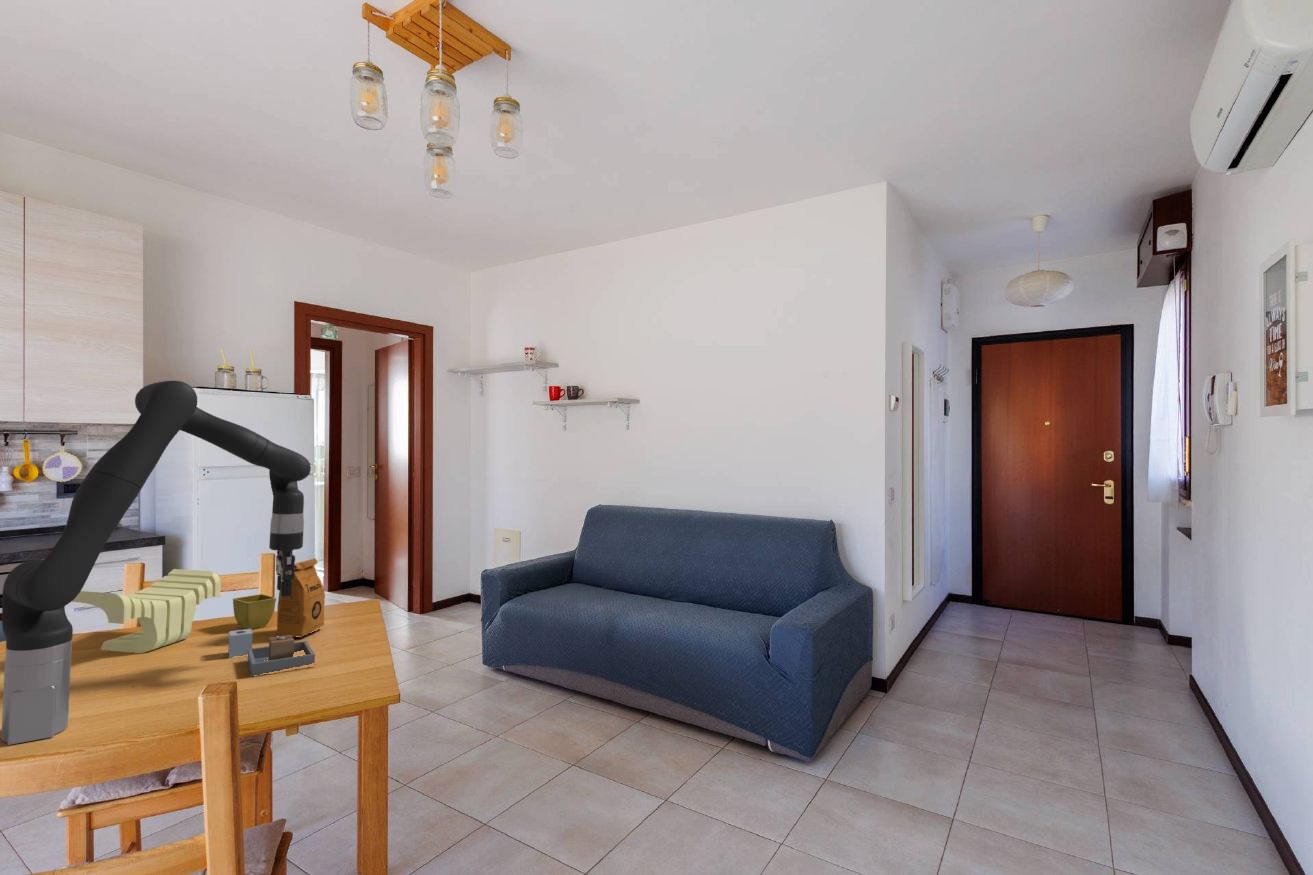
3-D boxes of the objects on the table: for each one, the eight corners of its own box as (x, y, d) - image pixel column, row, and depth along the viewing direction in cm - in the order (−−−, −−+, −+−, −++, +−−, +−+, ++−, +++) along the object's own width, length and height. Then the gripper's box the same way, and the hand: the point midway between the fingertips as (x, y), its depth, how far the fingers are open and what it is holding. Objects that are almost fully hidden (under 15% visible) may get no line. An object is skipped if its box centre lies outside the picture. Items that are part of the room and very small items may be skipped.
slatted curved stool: (121, 664, 158) (125, 594, 159) (66, 659, 160) (70, 590, 161) (218, 631, 188) (221, 571, 188) (171, 627, 190) (173, 568, 190)
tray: (314, 667, 161) (314, 654, 161) (251, 677, 153) (252, 664, 153) (306, 652, 172) (306, 640, 172) (247, 661, 163) (247, 648, 164)
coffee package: (329, 629, 193) (332, 558, 194) (301, 641, 181) (304, 565, 181) (300, 627, 195) (303, 556, 195) (270, 638, 182) (274, 563, 183)
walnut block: (293, 663, 162) (294, 638, 162) (270, 666, 158) (271, 641, 159) (290, 657, 166) (291, 633, 166) (268, 660, 162) (269, 636, 163)
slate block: (251, 655, 168) (252, 632, 168) (229, 658, 165) (230, 635, 165) (250, 650, 172) (251, 628, 172) (228, 653, 169) (229, 631, 169)
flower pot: (260, 621, 199) (262, 593, 199) (275, 626, 195) (277, 597, 195) (230, 627, 192) (232, 598, 192) (245, 632, 187) (246, 602, 187)
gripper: (307, 533, 159) (304, 596, 159) (299, 526, 171) (296, 586, 170) (273, 534, 155) (269, 600, 155) (267, 527, 166) (264, 589, 166)
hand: (283, 592), depth 162 cm, fingers open, 8 cm apart
